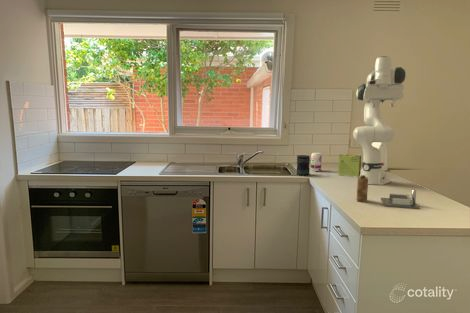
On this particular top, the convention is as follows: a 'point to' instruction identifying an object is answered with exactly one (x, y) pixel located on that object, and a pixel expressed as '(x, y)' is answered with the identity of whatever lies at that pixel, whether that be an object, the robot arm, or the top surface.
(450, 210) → the top surface
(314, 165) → the supplement can
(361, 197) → the walnut toggle block
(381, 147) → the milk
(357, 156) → the protein box
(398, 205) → the keeper bracket
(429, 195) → the top surface
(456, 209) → the top surface
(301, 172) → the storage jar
